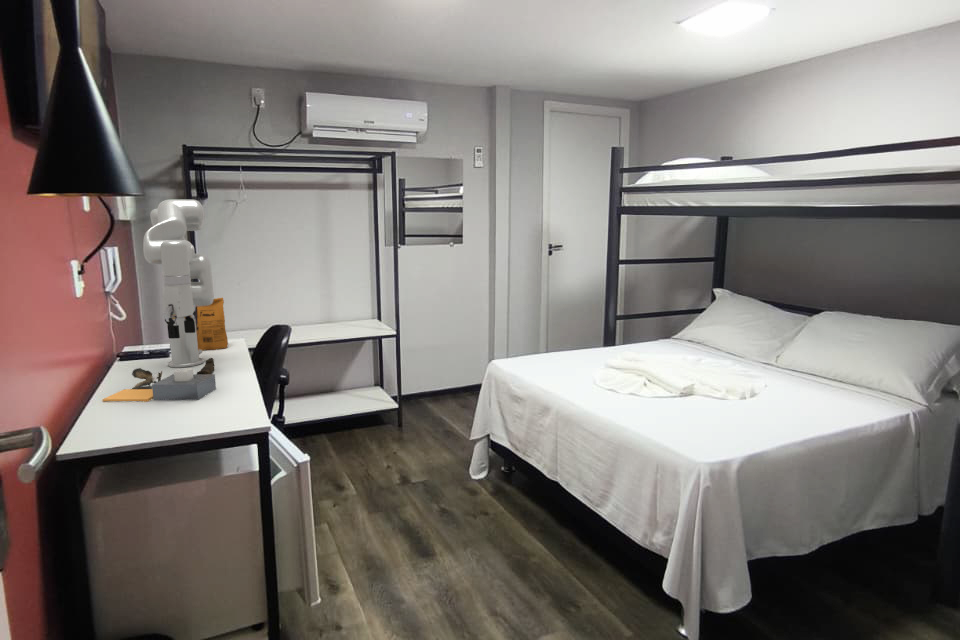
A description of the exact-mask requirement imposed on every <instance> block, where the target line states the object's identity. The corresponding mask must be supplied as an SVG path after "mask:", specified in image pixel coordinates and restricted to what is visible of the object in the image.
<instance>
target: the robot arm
mask: <svg viewBox="0 0 960 640" xmlns="http://www.w3.org/2000/svg"><path fill="white" fill-rule="evenodd" d="M149 216H150V221H151V225H152V226H151V227H150V228H149V229H147V230H146V232H145V233H144V236H143V241H142V243H143V246H142V247H143V257H144V259H145V261H146V262H147V263H148V264H151V265H161V269H162V277H163V288H162V291H161V292H162V303H163V304H162V305H163V306H162V307H163V313H162V316H163V318H164V322H165V323H166V324H165V325H166V326H167V335H168V339H169V347H170V355H171V360H169V361H168V362H166V363H167V366H168V367H169V368H187V367H188V368H189V367H194V366H198V365H202V364H203V363H204V362H205V361H204V358H202V357H200V355H201V354H202V353H203V351H202V350H201V349H199V350H198V342H197V331H196V328H197V323H196V322H197V319H196V317H195V316H196V309H197V307H200V306H209V305H211V304H212V303H213V299H215V298H214V286H213V276H212V266H211V265H212V264H211V261H210V259H209V257H208V255H206V254H205V253H195V247H194V244H192V243H191V242H190V241H189V240H187V239H186V238H185V235H186V233H187V232H189V231H190V232H193V231H194V232H198V231H201V230H202V229H204V226H205V210H204V206H203V205H202V203H201V202H200V201H199V200H196V199H165V200H163V201H161V202H160V203H159V204H158V206H157V208H154V209H152V210H151V211H150V213H149ZM192 279H193V280H194V279H195V280H196V279H197V280H199V281H191V280H192Z"/></svg>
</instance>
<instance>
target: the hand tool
mask: <svg viewBox="0 0 960 640" xmlns="http://www.w3.org/2000/svg"><path fill="white" fill-rule="evenodd" d="M212 371H214V372H215V359H214V358H213V357H210V358H208V359H207V360H205V364H204V365H203V367H202V368H200V370H199V371H197V372H196V374H212V373H213V372H212Z"/></svg>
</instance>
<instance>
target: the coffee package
mask: <svg viewBox="0 0 960 640" xmlns="http://www.w3.org/2000/svg"><path fill="white" fill-rule="evenodd" d="M224 301H225V300H224V298H223V297H218V298H214V299H213V303H212V304H211V305H209V306H200V307H196V317H197V318H196V322H197V323H196V331H197V342H198V350H199V349H201V350H202V352H204V351H208V350H209V351H210V350H212V351H216V349H217V350H223V349H226V348H228V345H229V342H228V340H229V339H228V336H227V332H226V331H227V330H226V321H225V320H226V319H225V318H226V317H225V310H224V303H225V302H224Z"/></svg>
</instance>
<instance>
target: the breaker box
mask: <svg viewBox="0 0 960 640" xmlns="http://www.w3.org/2000/svg"><path fill="white" fill-rule="evenodd" d="M193 376H194V379H192V380H190V381H175V378H174V374H171V375H169V376H167V377H164V378H163V379H162V378H161V380H160V381H158V380H157V381H156V383H151V389H152V390H153V399H152V400H153V401H199V400H201V399H203V398H204V397H206V396H207V395H209V394H211V393H212V392H213V390H214V391H215V390H217V385H216V384H217V383H216V374H212V373H211V374H197V373H196V374H195V373H193ZM208 393H209V394H208ZM205 395H206V396H205ZM200 398H201V399H200Z"/></svg>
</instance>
